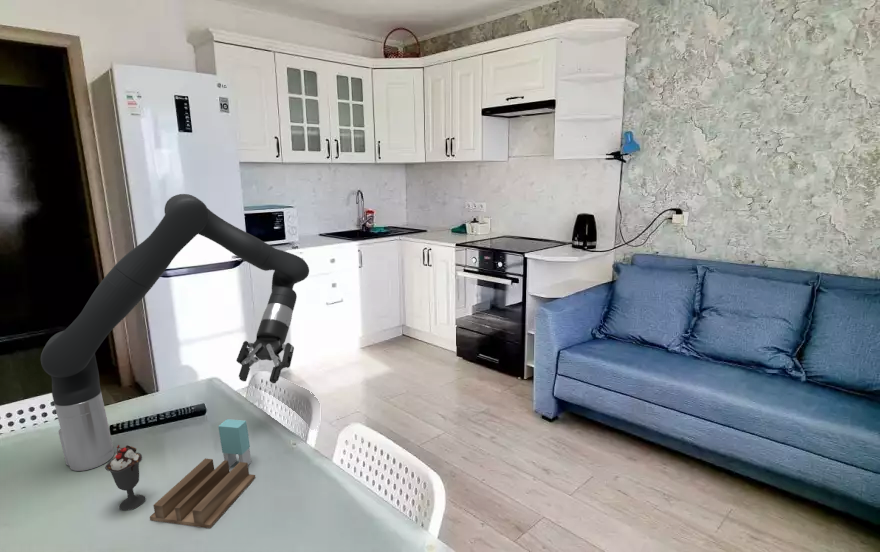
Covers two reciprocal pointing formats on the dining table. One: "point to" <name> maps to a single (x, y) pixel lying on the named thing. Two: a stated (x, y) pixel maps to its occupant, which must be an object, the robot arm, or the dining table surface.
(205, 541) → the dining table surface
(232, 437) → the aqua box with feet
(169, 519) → the rail
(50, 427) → the dining table surface
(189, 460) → the dining table surface
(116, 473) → the sundae
